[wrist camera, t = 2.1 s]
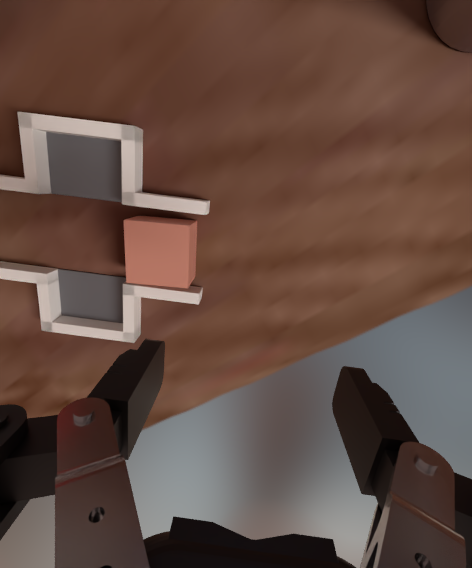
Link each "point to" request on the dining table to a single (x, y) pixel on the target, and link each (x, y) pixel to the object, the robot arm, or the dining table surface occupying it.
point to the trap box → (97, 185)
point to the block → (160, 251)
